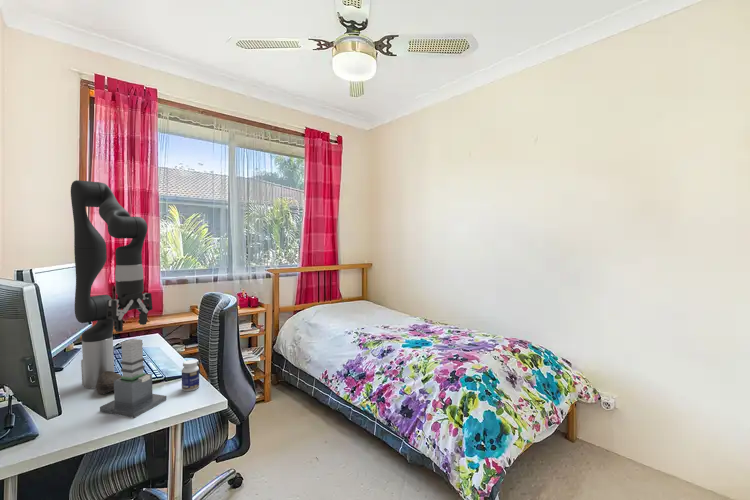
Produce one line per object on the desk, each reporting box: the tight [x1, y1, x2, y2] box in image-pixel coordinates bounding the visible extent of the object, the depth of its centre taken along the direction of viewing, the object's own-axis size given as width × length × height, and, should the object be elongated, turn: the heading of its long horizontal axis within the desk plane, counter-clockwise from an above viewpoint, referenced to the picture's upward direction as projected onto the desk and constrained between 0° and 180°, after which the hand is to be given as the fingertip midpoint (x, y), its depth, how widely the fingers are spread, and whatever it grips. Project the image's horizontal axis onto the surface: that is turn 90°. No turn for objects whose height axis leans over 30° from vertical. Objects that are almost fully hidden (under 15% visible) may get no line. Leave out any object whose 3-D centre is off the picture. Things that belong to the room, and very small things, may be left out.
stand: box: [99, 373, 167, 418], centre depth 120 cm, size 14×12×10 cm
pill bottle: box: [181, 359, 200, 392], centre depth 133 cm, size 6×6×10 cm
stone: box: [95, 371, 123, 395], centre depth 131 cm, size 10×8×10 cm
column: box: [120, 338, 146, 382], centre depth 119 cm, size 5×5×15 cm
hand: (131, 327), depth 118 cm, fingers open, 8 cm apart
